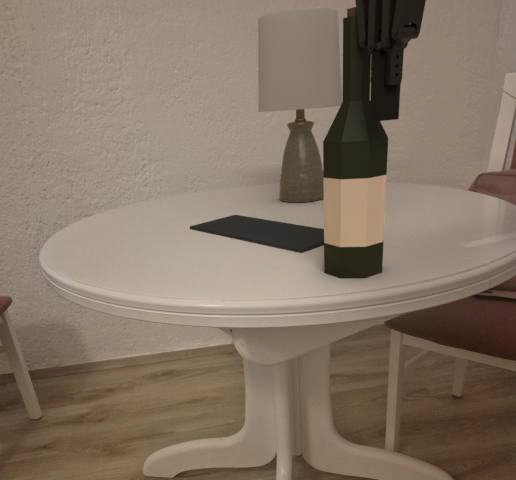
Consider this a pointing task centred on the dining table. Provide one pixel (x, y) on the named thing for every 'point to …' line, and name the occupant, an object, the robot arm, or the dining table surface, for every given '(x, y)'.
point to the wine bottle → (354, 171)
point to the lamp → (299, 88)
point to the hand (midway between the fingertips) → (384, 119)
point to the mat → (265, 232)
